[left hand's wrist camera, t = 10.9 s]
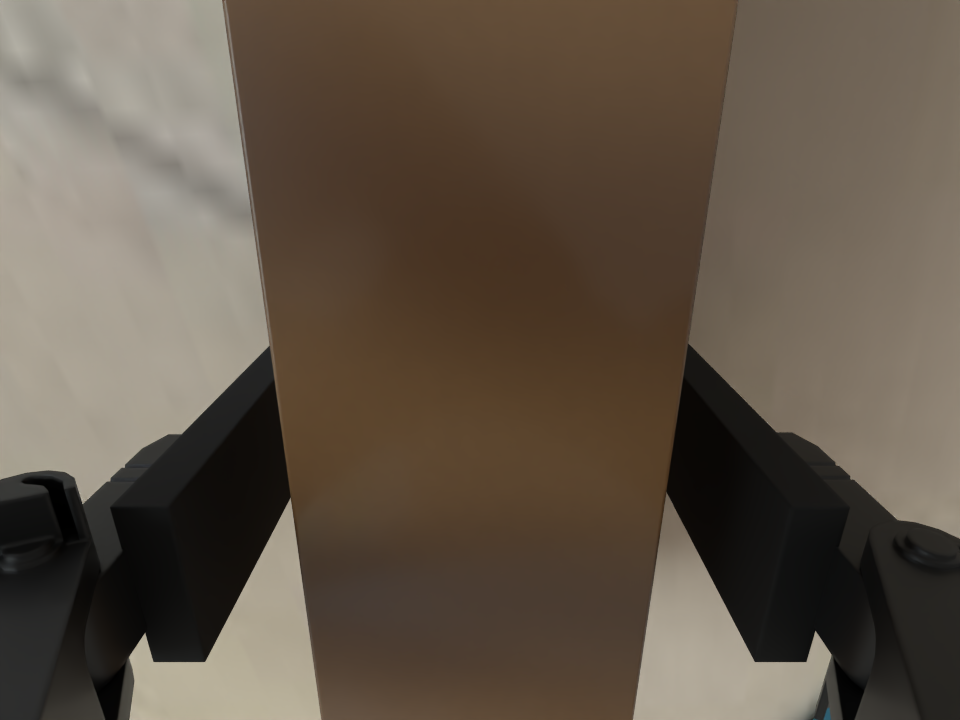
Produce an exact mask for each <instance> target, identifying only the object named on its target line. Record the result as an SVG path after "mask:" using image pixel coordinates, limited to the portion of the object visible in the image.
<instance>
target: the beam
mask: <svg viewBox="0 0 960 720" xmlns="http://www.w3.org/2000/svg"><path fill="white" fill-rule="evenodd" d="M222 2H223V10H224V17H225V24H226V31H227V39H228V46H229V53H230V60H231V67H232V75H233V82H234V89H235V96H236V104H237V111H238V118H239V125H240V133H241V140H242V147H243V154H244V162H245V169H246V176H247V183H248V191H249V198H250V205H251V212H252V220H253V227H254V234H255V241H256V249H257V256H258V263H259V270H260V278H261V285H262V292H263V299H264V307H265V314H266V321H267V328H268V336H269V343H270V350H271V357H272V365H273V372H274V379H275V386H276V394H277V401H278V408H279V415H280V423H281V430H282V437H283V444H284V452H285V459H286V466H287V473H288V481H289V488H290V495H291V502H292V509H293V517H294V524H295V531H296V538H297V546H298V553H299V560H300V567H301V575H302V582H303V589H304V596H305V604H306V611H307V618H308V625H309V633H310V640H311V647H312V654H313V662H314V669H315V676H316V683H317V691H318V698H319V705H320V712H321V720H633V715H634V709H635V702H636V695H637V688H638V681H639V675H640V668H641V661H642V654H643V647H644V640H645V634H646V627H647V620H648V613H649V606H650V600H651V593H652V586H653V579H654V572H655V565H656V559H657V552H658V545H659V538H660V531H661V525H662V518H663V511H664V504H665V497H666V490H667V484H668V477H669V470H670V463H671V456H672V449H673V443H674V436H675V429H676V422H677V415H678V409H679V402H680V395H681V388H682V381H683V374H684V368H685V361H686V354H687V347H688V340H689V334H690V327H691V320H692V313H693V306H694V299H695V293H696V286H697V279H698V272H699V265H700V259H701V252H702V245H703V238H704V231H705V224H706V218H707V211H708V204H709V197H710V190H711V183H712V177H713V170H714V163H715V156H716V149H717V143H718V136H719V129H720V122H721V115H722V108H723V102H724V95H725V88H726V81H727V74H728V68H729V61H730V54H731V47H732V40H733V33H734V27H735V20H736V13H737V6H738V0H222Z"/></svg>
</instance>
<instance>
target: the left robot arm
mask: <svg viewBox="0 0 960 720" xmlns="http://www.w3.org/2000/svg"><path fill="white" fill-rule="evenodd" d="M666 492H667V494H668V496H669V498H670V500H671V501H672V503H673V505H674V507H675V509H676V511H677V513H678V515H679V517H680V519H681V521H682V523H683V525H684V526H685V528H686V530H687V532H688V534H689V536H690V538H691V540H692V542H693V544H694V546H695V548H696V550H697V551H698V553H699V555H700V557H701V559H702V561H703V563H704V565H705V567H706V569H707V571H708V573H709V575H710V576H711V578H712V580H713V582H714V584H715V586H716V588H717V590H718V592H719V594H720V596H721V598H722V600H723V601H724V603H725V605H726V607H727V609H728V611H729V613H730V615H731V617H732V619H733V621H734V623H735V625H736V626H737V628H738V630H739V632H740V634H741V636H742V638H743V640H744V642H745V644H746V646H747V648H748V650H749V651H750V653H751V655H752V657H753V659H754V661H755V662H807V658H808V654H809V651H810V647H811V644H812V640H813V637H814V633H815V630H816V632H817V633H818V635H819V636H820V638H821V639H822V641H823V642H824V644H825V645H826V647H827V648H828V650H829V651H830V653H831V654H832V656H831V660H830V663H829V666H828V669H827V673H826V676H825V679H824V683H823V686H822V689H821V692H820V696H819V699H818V702H817V706H816V711H815V717H814V719H817V720H824V717H825V714H826V710H827V708H830V715H831V720H960V539H959V538H956V537H954V536H952V535H950V534H948V533H946V532H944V531H941V530H939V529H936V528H933V527H929V526H926V525H923V524H919V523H915V522H907V521H899V520H897V519H896V518H895V517H893V516H892V515H891V514H890V513H889V512H888V511H887V510H886V509H885V508H884V507H883V506H882V505H881V504H879V503H878V502H877V501H876V500H875V499H874V498H873V497H872V496H871V495H870V494H869V493H868V492H867V491H865V490H864V489H863V488H862V487H861V486H860V485H859V484H858V483H857V482H856V481H855V480H850V476H849V475H848V474H847V473H846V472H845V471H844V470H843V469H842V468H841V467H840V466H836V465H835V462H834V461H833V460H832V459H831V458H830V457H829V456H828V455H827V454H826V453H824V452H823V451H822V450H821V449H820V448H819V447H818V446H816V445H814V444H812V443H811V442H809V441H807V440H805V439H803V438H801V437H799V436H797V435H796V434H794V433H776V432H775V431H774V430H773V429H772V428H771V427H770V426H769V425H768V424H767V423H766V422H765V421H764V420H763V419H762V418H761V417H760V416H759V415H758V413H757V412H756V411H755V410H754V409H753V408H752V407H751V406H750V405H749V404H748V403H747V402H746V401H745V400H744V399H743V398H742V397H741V396H740V395H739V394H738V393H737V392H736V391H735V390H734V389H733V388H732V387H731V386H730V385H729V384H728V383H727V382H726V381H725V380H724V379H723V378H722V377H721V376H720V375H719V374H718V373H717V372H716V371H715V370H714V369H713V368H712V367H711V366H710V365H709V364H708V363H707V362H706V361H705V360H704V359H703V358H702V357H701V356H700V355H699V354H698V353H697V352H696V351H695V350H694V349H693V348H692V347H691V346H690V345H689V344H688V347H687V354H686V361H685V368H684V374H683V381H682V388H681V395H680V402H679V409H678V415H677V422H676V429H675V436H674V443H673V449H672V456H671V463H670V470H669V477H668V484H667V490H666ZM290 498H291V495H290V488H289V481H288V473H287V466H286V459H285V452H284V444H283V437H282V430H281V423H280V415H279V408H278V401H277V394H276V386H275V379H274V372H273V365H272V357H271V350H270V346H269V347H268V348H267V349H266V350H265V351H264V352H263V353H262V354H261V355H260V356H259V357H258V358H257V359H256V360H255V361H254V362H253V363H252V364H251V365H250V366H249V367H248V368H247V369H246V370H245V371H244V372H243V373H242V374H241V375H240V376H239V377H238V378H237V379H236V380H235V381H234V382H233V383H232V384H231V385H230V386H229V387H228V388H227V389H226V390H225V391H224V392H223V393H222V394H221V395H220V396H219V397H218V398H217V399H216V400H215V401H214V402H213V403H212V404H211V405H210V406H209V407H208V408H207V409H206V410H205V411H204V412H203V414H202V415H201V416H200V417H199V418H198V419H197V420H196V421H195V422H194V423H193V424H192V425H191V426H190V427H189V428H188V429H187V430H186V431H185V432H184V433H183V434H168V435H167V436H165V437H163V438H161V439H159V440H157V441H155V442H154V443H152V444H150V445H148V446H146V447H144V448H143V449H141V450H140V451H139V452H138V453H137V454H136V455H135V456H134V457H133V458H132V459H131V460H130V461H129V462H128V463H126V464H125V468H121V469H120V470H119V471H118V472H117V473H116V474H115V475H114V476H113V477H111V481H110V482H106V483H105V484H104V485H103V486H102V487H101V488H100V489H99V490H98V491H97V492H95V493H94V494H93V495H92V496H91V497H90V498H89V499H88V500H87V501H86V502H85V503H84V504H83V505H82V501H81V498H80V495H79V491H78V488H77V485H76V482H75V478H74V477H72V476H70V475H69V474H67V473H65V472H58V471H39V472H30V473H24V474H20V475H16V476H12V477H9V478H5V479H1V480H0V720H129V717H130V710H131V702H132V695H133V687H134V676H133V670H132V666H131V663H130V660H129V656H130V654H131V653H132V651H133V650H134V648H135V647H136V645H137V644H138V642H139V641H140V639H141V638H142V637H143V635H144V634H145V633H146V637H147V640H148V644H149V647H150V651H151V654H152V658H153V661H154V662H205V661H206V659H207V657H208V655H209V653H210V652H211V650H212V648H213V646H214V644H215V642H216V640H217V638H218V636H219V634H220V632H221V630H222V628H223V627H224V625H225V623H226V621H227V619H228V617H229V615H230V613H231V611H232V609H233V607H234V605H235V603H236V602H237V600H238V598H239V596H240V594H241V592H242V590H243V588H244V586H245V584H246V582H247V580H248V578H249V577H250V575H251V573H252V571H253V569H254V567H255V565H256V563H257V561H258V559H259V557H260V555H261V553H262V552H263V550H264V548H265V546H266V544H267V542H268V540H269V538H270V536H271V534H272V532H273V530H274V528H275V527H276V525H277V523H278V521H279V519H280V517H281V515H282V513H283V511H284V509H285V507H286V505H287V503H288V502H289V500H290Z"/></svg>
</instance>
